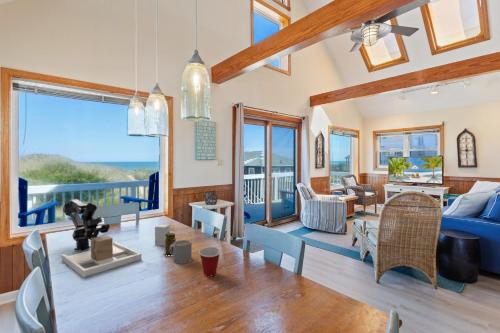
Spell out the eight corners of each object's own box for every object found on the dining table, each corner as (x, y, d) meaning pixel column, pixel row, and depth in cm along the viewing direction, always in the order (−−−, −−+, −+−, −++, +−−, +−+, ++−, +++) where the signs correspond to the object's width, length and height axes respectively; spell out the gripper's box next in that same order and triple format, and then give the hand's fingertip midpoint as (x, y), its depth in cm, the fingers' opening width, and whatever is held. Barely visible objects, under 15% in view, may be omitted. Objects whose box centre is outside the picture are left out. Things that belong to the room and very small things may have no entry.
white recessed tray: (61, 260, 142) (61, 254, 142) (114, 246, 165) (114, 241, 165) (84, 277, 121) (83, 270, 121) (141, 259, 144) (141, 253, 143)
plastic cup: (202, 281, 118) (202, 256, 117) (196, 272, 127) (196, 248, 127) (224, 276, 123) (224, 252, 122) (216, 268, 132) (216, 245, 132)
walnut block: (90, 257, 142) (90, 238, 142) (105, 253, 149) (105, 234, 149) (97, 261, 137) (97, 241, 137) (112, 257, 143) (112, 237, 143)
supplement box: (164, 246, 166) (164, 227, 166) (154, 245, 168) (154, 226, 167) (170, 242, 173) (170, 224, 173) (160, 242, 175) (160, 224, 175)
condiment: (175, 251, 158) (175, 232, 158) (177, 255, 150) (177, 235, 150) (163, 252, 155) (163, 233, 154) (165, 257, 147) (165, 237, 147)
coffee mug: (195, 258, 145) (195, 241, 145) (182, 264, 136) (182, 246, 136) (178, 254, 152) (178, 237, 152) (165, 259, 143) (165, 242, 143)
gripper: (73, 216, 144) (81, 238, 137) (108, 211, 158) (116, 231, 152) (69, 227, 149) (76, 250, 142) (103, 221, 163) (111, 241, 157)
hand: (95, 242), depth 148 cm, fingers closed
